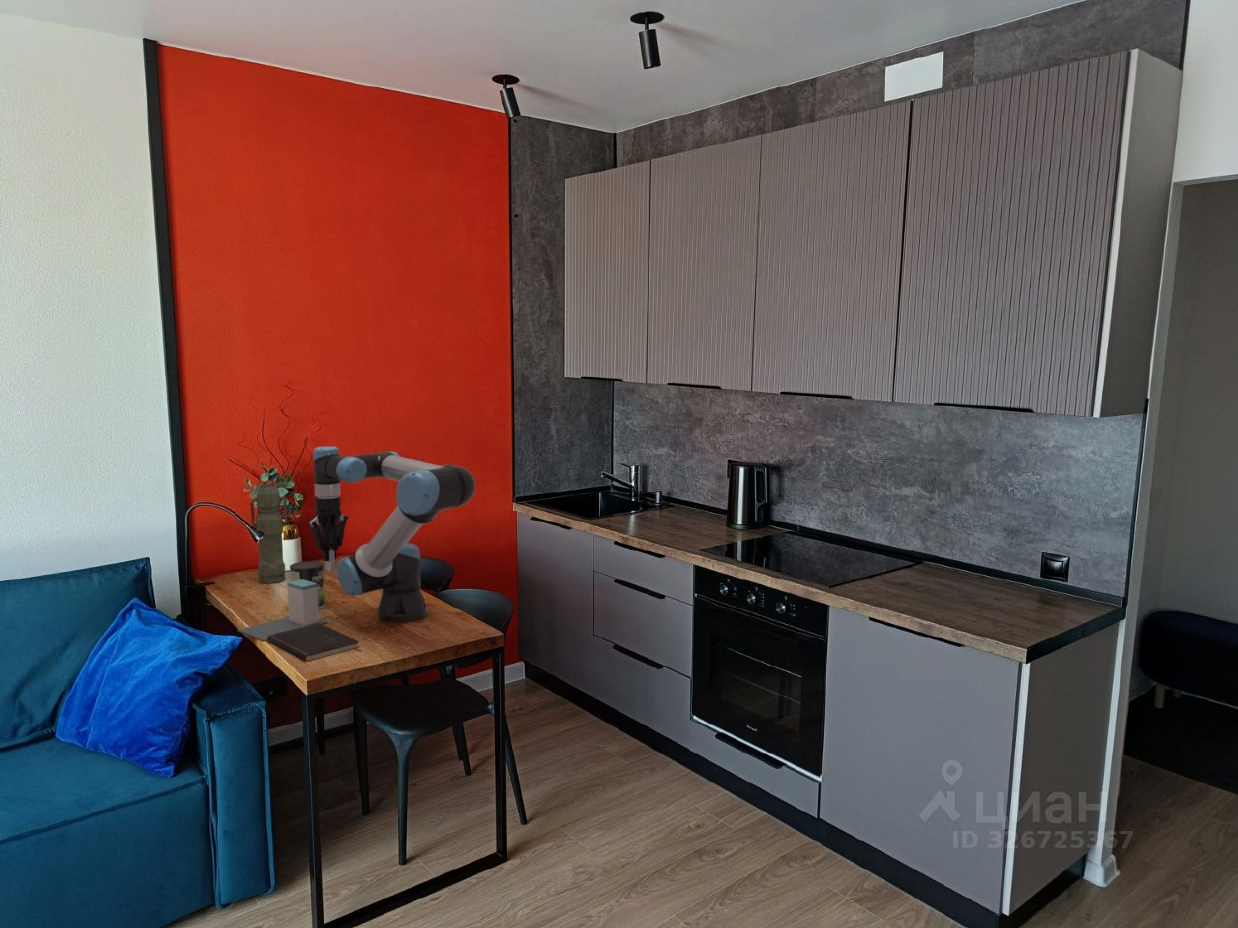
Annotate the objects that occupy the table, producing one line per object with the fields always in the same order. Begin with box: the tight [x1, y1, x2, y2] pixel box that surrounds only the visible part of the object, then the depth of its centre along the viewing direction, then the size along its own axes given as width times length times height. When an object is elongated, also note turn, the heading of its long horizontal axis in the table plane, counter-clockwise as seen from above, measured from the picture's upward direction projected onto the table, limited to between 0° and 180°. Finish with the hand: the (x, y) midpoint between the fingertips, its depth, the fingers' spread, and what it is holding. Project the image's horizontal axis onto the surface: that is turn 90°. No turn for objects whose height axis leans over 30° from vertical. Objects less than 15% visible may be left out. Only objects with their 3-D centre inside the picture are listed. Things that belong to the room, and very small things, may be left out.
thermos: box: [249, 483, 288, 585], centre depth 305 cm, size 9×12×35 cm
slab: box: [287, 579, 320, 626], centre depth 260 cm, size 8×5×12 cm, turn 53°
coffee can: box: [289, 560, 326, 610], centre depth 276 cm, size 10×10×14 cm
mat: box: [237, 615, 328, 642], centre depth 257 cm, size 14×21×1 cm, turn 143°
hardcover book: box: [267, 623, 360, 663], centre depth 242 cm, size 16×23×2 cm
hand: (330, 570), depth 267 cm, fingers closed
